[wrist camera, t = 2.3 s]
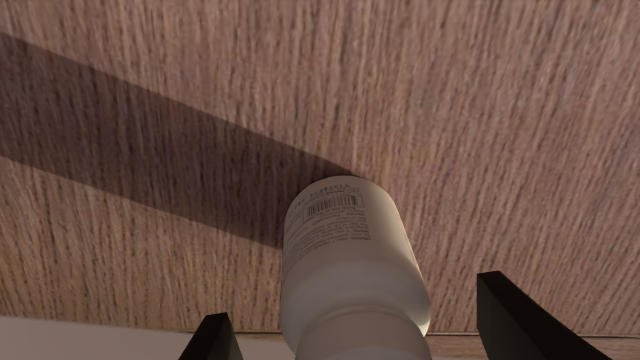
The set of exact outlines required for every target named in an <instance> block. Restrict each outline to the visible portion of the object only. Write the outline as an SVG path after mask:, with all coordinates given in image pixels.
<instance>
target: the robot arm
mask: <svg viewBox="0 0 640 360" xmlns="http://www.w3.org/2000/svg"><path fill="white" fill-rule="evenodd" d="M477 329H478V331H479V334H480V337H481V340H482V342H483V345H484V348H485V351H486V353H487V356H488V358H489V360H612V359H611V358H609V357H608V356H606V355H605V354H603V353H602V352H600V351H599V350H597V349H596V348H595V347H593V346H592V345H590V344H589V343H588V342H586V341H585V340H583V339H582V338H581V337H579V336H578V335H576V334H575V333H574V332H573V331H571V330H570V329H569V328H567V327H566V326H565V325H563V324H562V323H561V322H560V321H558V320H557V319H556V318H554V317H553V316H552V315H551V314H549V313H548V312H547V311H546V310H544V309H543V308H542V307H541V306H540V305H538V304H537V303H536V302H535V301H534V300H532V299H531V298H530V297H529V296H528V295H527V294H525V293H524V292H523V291H522V290H521V289H520V288H518V287H517V286H516V285H515V284H514V283H513V282H512V281H511V280H509V279H508V278H507V277H506V276H505V275H504V274H503V273H501V272H500V271H492V272H486V273H479V274H477ZM178 360H243V357H242V354H241V351H240V349H239V346H238V343H237V340H236V337H235V334H234V331H233V328H232V326H231V323H230V320H229V317H228V314H227V312H225V313H218V314H212V315H206V316H205V318H204V319H203V321H202V322H201V324H200V325H199V327H198V329H197V330H196V332H195V334H194V335H193V337H192V339H191V340H190V342H189V344H188V345H187V347H186V348H185V350H184V351H183V353H182V355H181V356H180V358H179V359H178Z"/></svg>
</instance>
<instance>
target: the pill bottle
mask: <svg viewBox="0 0 640 360" xmlns="http://www.w3.org/2000/svg"><path fill="white" fill-rule="evenodd" d="M430 315H431V308H430V301H429V297H428V293H427V290H426V287H425V283H424V280H423V278H422V275H421V273H420V270H419V267H418V264H417V262H416V259H415V256H414V254H413V251H412V248H411V245H410V242H409V240H408V237H407V234H406V232H405V229H404V226H403V223H402V221H401V218H400V216H399V213H398V211H397V208H396V206H395V204H394V202H393V200H392V199H391V197H390V196H389V195H388V194H387V192H385V191H384V190H383V189H382V188H381V187H379V186H378V185H376V184H375V183H373V182H371V181H369V180H366V179H363V178H360V177H355V176H333V177H328V178H325V179H322V180H319V181H317V182H314V183H312V184H311V185H309V186H308V187H306V188H305V189H304V190H303V191H302V192H300V193H299V195H298V196H297V197H296V198H295V199H294V200H293V202H292V203H291V205H290V207H289V209H288V211H287V214H286V218H285V223H284V239H283V260H282V280H281V294H280V325H281V330H282V333H283V336H284V338H285V341H286V343H287V344H288V346H289V348H290V349H291V350H292V352H294V354H295V355H296V358H295V360H432V357H431V353H430V349H429V346H428V343H427V341H426V340H425V338H424V336H425V334H426V332H427V329H428V326H429V322H430Z"/></svg>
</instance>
